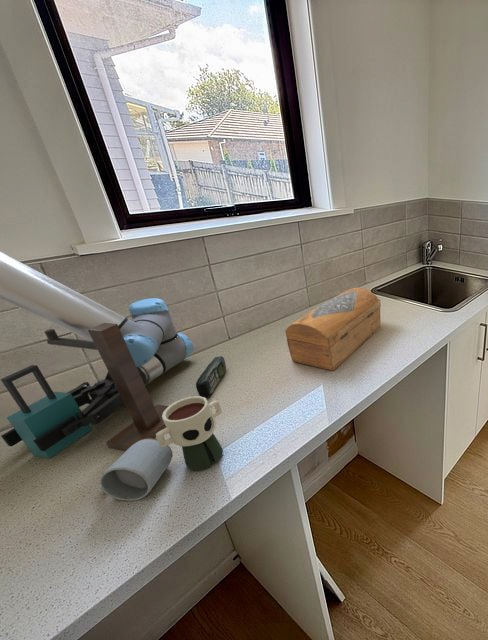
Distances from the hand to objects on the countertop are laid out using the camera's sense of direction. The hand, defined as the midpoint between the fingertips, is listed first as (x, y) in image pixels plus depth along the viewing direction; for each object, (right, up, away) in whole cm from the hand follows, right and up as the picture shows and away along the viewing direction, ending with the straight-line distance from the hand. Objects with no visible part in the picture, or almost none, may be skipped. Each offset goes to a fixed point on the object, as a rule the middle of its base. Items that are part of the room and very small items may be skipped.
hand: (22, 443), depth 64 cm
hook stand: (+11, 0, +11) cm, 15 cm away
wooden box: (+49, +16, +45) cm, 68 cm away
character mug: (+33, -4, +3) cm, 34 cm away
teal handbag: (+1, -2, +6) cm, 7 cm away
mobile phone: (+21, +7, +26) cm, 34 cm away
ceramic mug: (+24, -7, -2) cm, 25 cm away
